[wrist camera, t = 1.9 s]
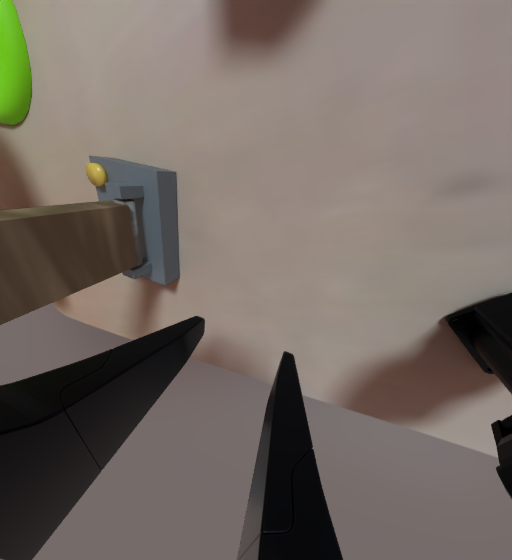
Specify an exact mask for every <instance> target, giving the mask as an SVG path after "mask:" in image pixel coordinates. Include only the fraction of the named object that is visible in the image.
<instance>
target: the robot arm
mask: <svg viewBox="0 0 512 560" xmlns="http://www.w3.org/2000/svg"><path fill="white" fill-rule="evenodd" d="M455 319H458V320H457V321H454V322H452V321H453V320H455ZM446 321H447V323H448V324H449V325H450V327H451V328H452V329H453V331H454V332H455V333H456V335H457V336H458V337H459V339H460V340H461V341H462V343H463V344H464V345H465V347H466V348H467V349H468V351H469V352H470V353H471V355H472V356H473V357H474V359H475V360H476V361H477V363H478V364H479V365H480V367H481V368H482V369H483V371H484V372H486V373H488V374H495V375H496V376H497V377H498V378H499V379H500V381H501V382H502V383H503V384H504V386H505V387H506V388H507V389H508V390H509V392H510V393H511V394H512V293H511V294H509V295H506V296H503V297H500V298H497V299H494V300H491V301H488V302H485V303H483V304H480V305H477V306H474V307H471V308H468V309H465V310H462V311H459V312H457V313H454V314H451V315H449V316H447V317H446ZM204 328H205V320H204V318H201V317H199V316H194V317H192V318H189V319H187V320H184V321H182V322H179V323H177V324H174V325H171V326H169V327H166V328H164V329H161V330H159V331H156V332H154V333H151V334H149V335H146V336H144V337H141V338H138V339H136V340H133V341H131V342H128V343H126V344H123V345H121V346H118V347H116V348H114V349H110V350H108V351H105V352H103V353H100V354H98V355H95V356H92V357H89V358H87V359H84V360H81V361H78V362H75V363H72V364H70V365H66V366H63V367H60V368H57V369H54V370H51V371H48V372H45V373H42V374H39V375H36V376H32V377H29V378H27V379H23V380H20V381H17V382H13V383H9V384H5V385H1V386H0V559H3V560H32V559H33V558H34V557H35V555H36V554H37V553H38V552H39V550H40V549H41V548H42V546H43V545H44V544H45V543H46V541H47V540H48V539H49V538H50V536H51V535H52V534H53V532H54V531H55V530H56V529H57V527H58V526H59V525H60V524H61V522H62V521H63V519H64V518H65V517H66V516H67V515H68V513H69V512H70V511H71V509H72V508H73V507H74V506H75V504H76V503H77V502H78V500H79V499H80V498H81V497H82V495H83V494H84V493H85V492H86V490H87V489H88V488H89V486H90V485H91V484H92V483H93V481H94V480H95V479H96V478H97V476H98V475H99V474H100V472H101V470H102V469H103V468H104V467H105V466H106V464H107V463H108V462H109V461H110V459H111V458H112V457H113V456H114V454H115V453H116V452H117V450H118V449H119V448H120V447H121V445H122V444H123V443H124V442H125V440H126V439H127V438H128V436H129V435H130V434H131V433H132V431H133V430H134V429H135V427H136V426H137V425H138V423H139V422H140V421H141V420H142V419H143V417H144V416H145V415H146V413H147V412H148V411H149V410H150V408H151V407H152V406H153V405H154V403H155V402H156V401H157V399H158V398H159V397H160V396H161V394H162V393H163V392H164V390H165V389H166V388H167V386H168V385H169V384H170V383H171V381H172V380H173V379H174V378H175V376H176V375H177V374H178V373H179V371H180V370H181V369H182V367H183V366H184V365H185V363H186V362H187V360H188V359H189V357H190V356H191V354H192V352H193V351H194V349H195V348H196V346H197V344H198V343H199V341H200V340H201V338H202V336H203V334H204ZM489 367H490V368H489ZM491 427H492V430H493V434H494V438H495V442H496V445H497V452H498V458H499V463H500V465H499V466H497V467H496V470H497V473H498V475H499V477H500V479H501V481H502V483H503V485H504V487H505V489H506V491H507V493H508V494H509V496H510V497H511V499H512V415H511V416H509V417H507V418H505V419H504V420H502V421H500V420H497V421H496V422H494V423H492V424H491ZM312 447H313V445H312V440H311V435H310V431H309V426H308V421H307V417H306V412H305V407H304V402H303V397H302V392H301V388H300V383H299V378H298V373H297V369H296V364H295V359H294V355H293V354H291V353H289V352H286V351H284V353H283V355H282V358H281V361H280V364H279V367H278V370H277V373H276V377H275V380H274V383H273V386H272V389H271V392H270V396H269V399H268V403H267V407H266V412H265V417H264V422H263V427H262V433H261V438H260V443H259V449H258V453H257V459H256V464H255V469H254V474H253V479H252V484H251V489H250V495H249V500H248V505H247V511H246V515H245V520H244V526H243V531H242V536H241V541H240V547H239V551H238V556H237V560H343V558H342V554H341V551H340V547H339V544H338V541H337V538H336V534H335V531H334V527H333V524H332V521H331V517H330V514H329V510H328V507H327V503H326V500H325V496H324V493H323V489H322V485H321V481H320V477H319V472H318V468H317V464H316V459H315V454H314V450H313V449H312Z"/></svg>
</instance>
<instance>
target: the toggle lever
mask: <svg viewBox="0 0 512 560" xmlns="http://www.w3.org/2000/svg"><path fill="white" fill-rule="evenodd" d="M142 264H143V260H142V252H141V245H140V238H139V230H138V223H137V215H136V208H135V201H134V200H133V199H119V198H115V199H114V201H111V200H110V201H99V202H88V203H76V204H65V205H54V206H43V207H32V208H21V209H10V210H0V325H1V324H3V323H6V322H8V321H11V320H13V319H15V318H17V317H20V316H22V315H24V314H27V313H29V312H31V311H34V310H36V309H38V308H40V307H43V306H45V305H48V304H50V303H52V302H55V301H57V300H59V299H62V298H64V297H66V296H69V295H71V294H73V293H75V292H78V291H80V290H82V289H85V288H87V287H89V286H92V285H94V284H96V283H99V282H101V281H103V280H106V279H108V278H110V277H113V276H115V275H117V274H120V273H122V272H124V271H127V270H129V269H131V268H133V267H136V266H139V265H142Z"/></svg>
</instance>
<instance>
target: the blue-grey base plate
mask: <svg viewBox="0 0 512 560" xmlns="http://www.w3.org/2000/svg"><path fill="white" fill-rule="evenodd" d="M89 158H90V163H88V164H87V166H86V173H87V176H88V178H89V180H90V181H91V183H92V184H93V185H95V186H96V190H97V194H98V199H99V201H110V200H111V201H114V199H115V198H119V199H133V200H134V201H135V208H136V215H137V223H138V230H139V238H140V245H141V252H142V260H143V264H142V265H139V266H136V267H133V268H131V269H129V270H127V271H124V272H123V275H125V276H128V277H130V278H133V279H136V278H138V277H140V276H141V277H143V278H146V279H149V280H151V281H154V282H156V283H159V284H162V285H164V286H166V285H168V284H169V283H171V282H173V281H174V280H176V279H177V278H179V277H180V274H179V244H178V215H177V186H176V172H174V171H169V170H165V169H160V168H156V167H151V166H147V165H142V164H138V163H133V162H129V161H124V160H120V159H115V158H107V157H97V156H89Z"/></svg>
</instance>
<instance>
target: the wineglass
mask: <svg viewBox="0 0 512 560" xmlns="http://www.w3.org/2000/svg"><path fill="white" fill-rule="evenodd" d="M31 95H32V89H31V69H30V64H29V58H28V52H27V47H26V42H25V39H24V35H23V32H22V29H21V25H20V22H19V19H18V15H17V12H16V9H15V7H14V4H13V2H12V0H0V123H2V124H9V125H15V124H17V123H19V122H22V121H23V119H24V118H25V116H26V114H27V113H28V111H29V106H30V101H31Z"/></svg>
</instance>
